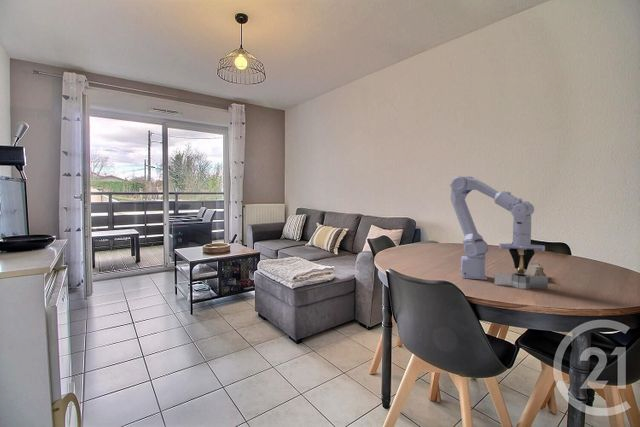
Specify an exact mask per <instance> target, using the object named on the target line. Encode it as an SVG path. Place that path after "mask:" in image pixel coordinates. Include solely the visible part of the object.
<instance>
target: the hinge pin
mask: <svg viewBox="0 0 640 427" xmlns="http://www.w3.org/2000/svg"><path fill="white" fill-rule="evenodd" d="M524 270H525V255H524V254H523V253H519V255H518V269H516V273H520V274H524Z"/></svg>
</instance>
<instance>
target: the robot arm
mask: <svg viewBox="0 0 640 427" xmlns="http://www.w3.org/2000/svg"><path fill="white" fill-rule="evenodd" d="M449 185H450V188H451V191H450V202H451V203H452V207H453V210H454V212H455V215H456V218H457V220H458V223H459V226H460V228H461V231H462V234H463V235H464V238H463V240H462V243H463V252H464V254H465V255H461V256H460V275H461V278H462V279H472V280H473V279H475V280H482V281H483V280H487V281H488V278H487V276H486V254H487V252H488V251H489V244H488V243H487V242H486V241H485V240H484V238H483V236H482V235H481V234H479V232H478V230H477V228H476V227H477V226H476V224H475V223H474V220H473V218H472V215H471V212H470V208H468V205H467V204H468V203H467V201H466V198H467V197H468V195H469V194H470V192H472V191H478V192H480V193H482V194H483V195H485V196H487V197H489V198H491V199H493V200H494V204H496V205H497V206H499V207H501V208H503V209H505V210H506V211H508V212H510V213H511V215H512V216H513V221H512V222H513V224H512V243H499V244H498V245H499V246H498V249H499V250H508V251H509V253H510V257H511V258H512V262H513V266H514V269H516V270H517V269H518V255H519V254H520V252H519V251H523V255H525V269H527V267H528V264H529V262H531V260H532V258H533V256H534V255H535V254H536V253H535V251H537V252H538V251H540V252H545V250H546V245H543V244H532V243H531V242H532V241H531V240H532V215H533V213H534V212H535V207H534V205H533V204H532V203H530V201H525V200H524V201H523V198H521V197H520V198H518V197H517V196H515V195H513V194H512V192H510V191H505V190H504V191H498V190H496V189H495V188H493V187H491V186H490V185H488V184H487V183H485V182H483V181H481V180H480V179H478V178H475V177H473V176H461V175H458V176H456V177H454V178H453V180H451V183H450V184H449Z"/></svg>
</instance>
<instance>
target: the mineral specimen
mask: <svg viewBox="0 0 640 427" xmlns="http://www.w3.org/2000/svg"><path fill="white" fill-rule="evenodd" d="M524 274H527V275H532V276H546V277H547V275H546V273H544V267H542V265H541V264H540V263H539V262H536V261H535V262H534V261H530V262H529V264H528V267H527V269H525V270H524Z"/></svg>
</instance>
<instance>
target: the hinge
mask: <svg viewBox="0 0 640 427" xmlns="http://www.w3.org/2000/svg"><path fill="white" fill-rule="evenodd" d="M493 278H494V279H493V280H494V282H493V284H494V285H495V286H509V287H512V288H516V289H522V290H528V289H531V288H532V289H543V290H545V289H546V290H548V288H549V287H548V286H549V277H548V276H547V275H546V276H532V275H527V274H520V273H517V272H513V273H501V272H494V277H493Z"/></svg>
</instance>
